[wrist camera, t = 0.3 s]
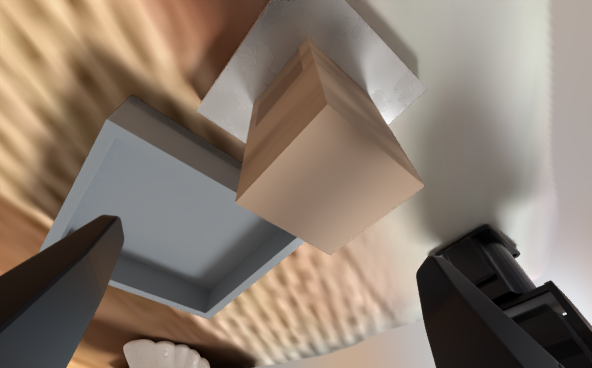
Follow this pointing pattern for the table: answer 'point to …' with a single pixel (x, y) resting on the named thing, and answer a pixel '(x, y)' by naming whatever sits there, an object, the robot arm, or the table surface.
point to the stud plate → (284, 43)
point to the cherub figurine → (162, 355)
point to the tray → (171, 213)
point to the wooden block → (321, 155)
